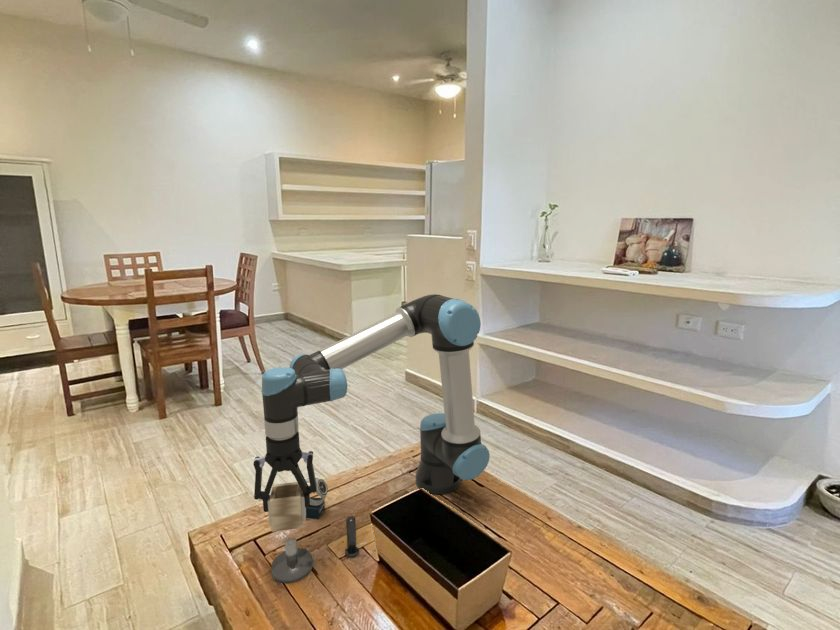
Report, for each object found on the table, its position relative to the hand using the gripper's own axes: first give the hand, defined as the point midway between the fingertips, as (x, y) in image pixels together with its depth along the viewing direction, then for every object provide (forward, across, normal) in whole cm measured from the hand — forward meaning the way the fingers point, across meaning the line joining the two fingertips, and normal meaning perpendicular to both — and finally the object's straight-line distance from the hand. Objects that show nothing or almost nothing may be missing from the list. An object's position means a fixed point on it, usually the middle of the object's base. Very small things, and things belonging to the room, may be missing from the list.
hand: (288, 519), depth 108 cm
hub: (+14, 0, 0) cm, 14 cm away
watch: (+14, -5, -21) cm, 26 cm away
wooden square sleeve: (0, 0, 0) cm, 0 cm away
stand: (+14, -15, -2) cm, 21 cm away
